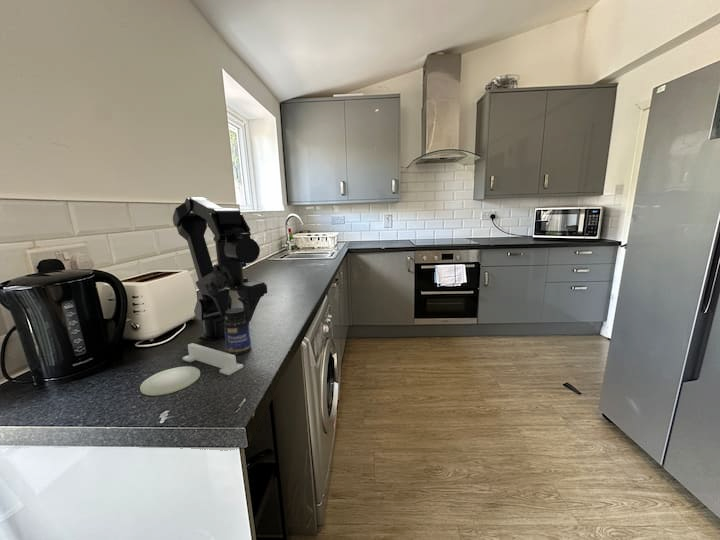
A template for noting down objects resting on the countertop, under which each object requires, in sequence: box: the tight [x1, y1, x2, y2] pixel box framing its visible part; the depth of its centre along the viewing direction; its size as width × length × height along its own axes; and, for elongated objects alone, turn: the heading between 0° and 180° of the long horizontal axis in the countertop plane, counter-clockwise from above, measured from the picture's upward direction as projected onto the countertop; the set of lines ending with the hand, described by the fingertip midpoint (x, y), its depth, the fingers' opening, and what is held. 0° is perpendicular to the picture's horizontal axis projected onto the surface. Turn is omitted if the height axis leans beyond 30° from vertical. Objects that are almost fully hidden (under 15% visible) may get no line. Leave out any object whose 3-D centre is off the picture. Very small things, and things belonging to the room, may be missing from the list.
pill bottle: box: [224, 307, 252, 356], centre depth 78 cm, size 6×6×11 cm
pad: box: [139, 365, 201, 397], centre depth 64 cm, size 11×11×1 cm
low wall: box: [182, 342, 244, 376], centre depth 71 cm, size 17×4×4 cm, turn 62°
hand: (235, 319), depth 77 cm, fingers open, 9 cm apart
